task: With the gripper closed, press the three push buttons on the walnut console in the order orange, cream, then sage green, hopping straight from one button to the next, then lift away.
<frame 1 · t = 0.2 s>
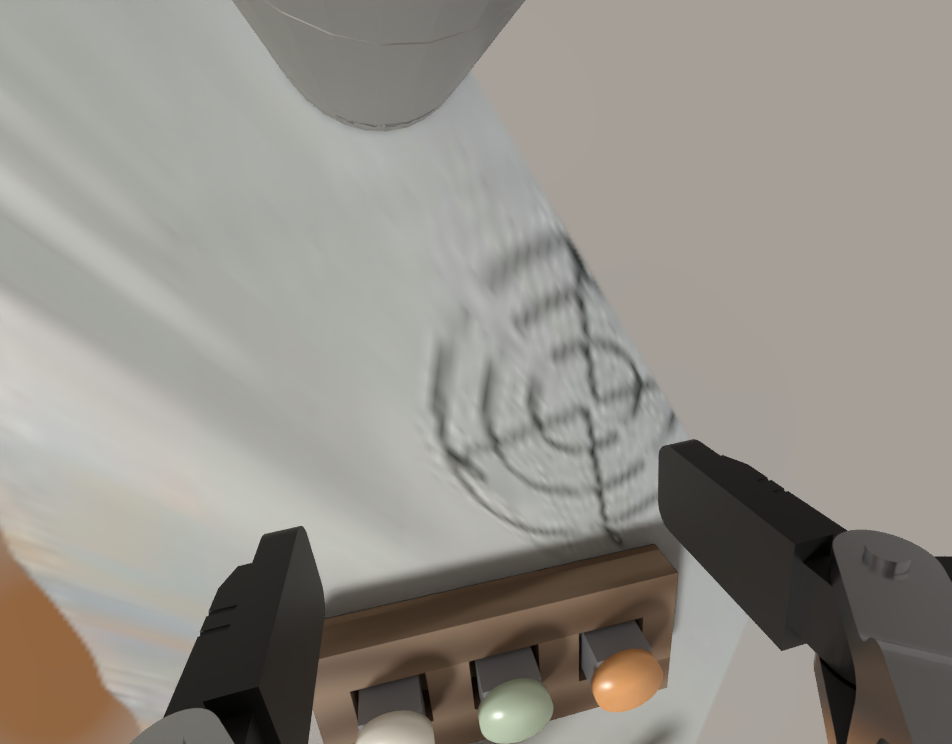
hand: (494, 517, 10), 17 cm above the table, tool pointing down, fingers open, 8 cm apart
console: (496, 640, 36), on the table
button cream: (394, 720, 31), point 4 cm above the table, slide at 0.0 cm
button sage: (509, 689, 33), point 4 cm above the table, slide at 0.0 cm
button orange: (616, 661, 34), point 4 cm above the table, slide at 0.0 cm
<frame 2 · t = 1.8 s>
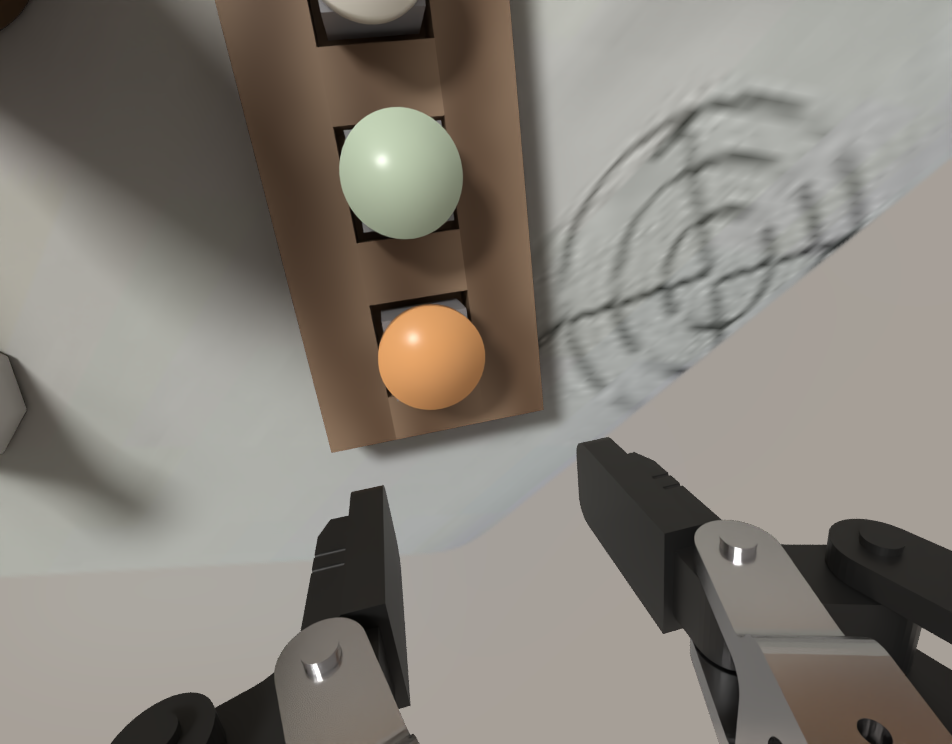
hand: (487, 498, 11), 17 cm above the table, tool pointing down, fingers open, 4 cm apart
console: (397, 185, 25), on the table
button sage: (400, 179, 21), point 4 cm above the table, slide at 0.0 cm
button orange: (428, 349, 24), point 4 cm above the table, slide at 0.0 cm
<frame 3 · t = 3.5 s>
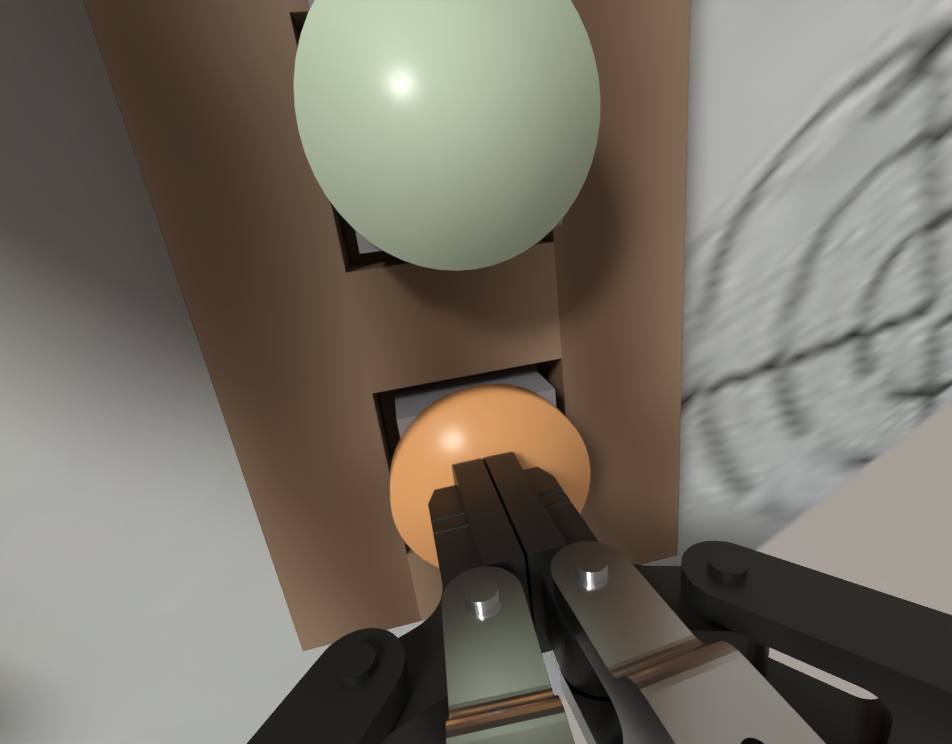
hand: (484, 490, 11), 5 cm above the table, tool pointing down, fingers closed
console: (424, 156, 13), on the table
button sage: (442, 133, 9), point 4 cm above the table, slide at 0.0 cm
button orange: (478, 454, 13), point 3 cm above the table, slide at 1.2 cm, touching gripper
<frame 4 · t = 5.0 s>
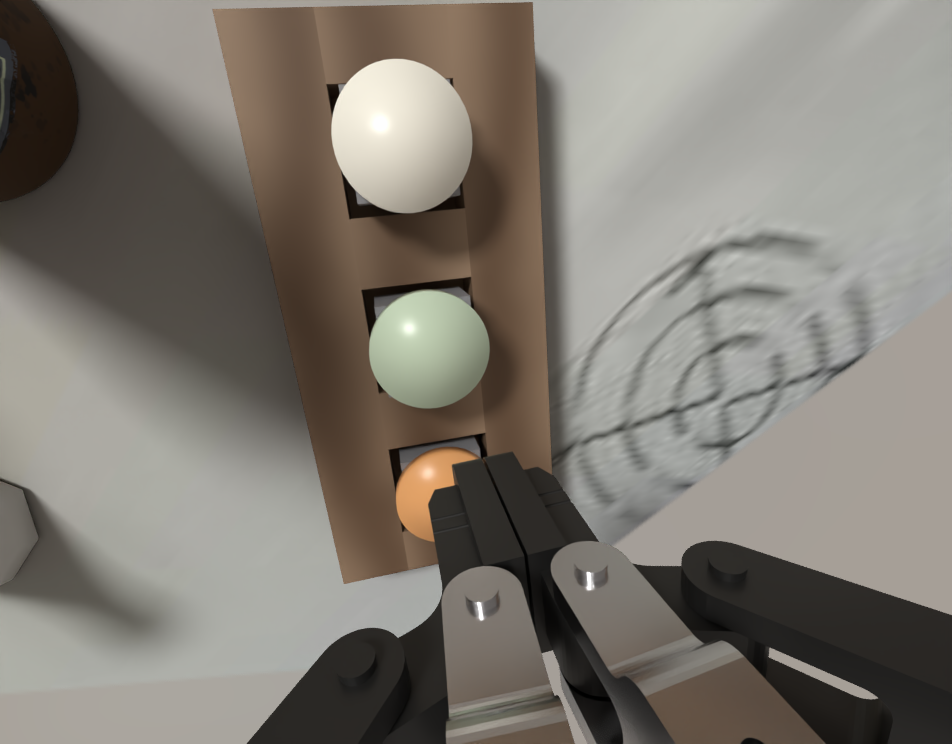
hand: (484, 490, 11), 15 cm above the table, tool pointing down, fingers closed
console: (418, 323, 25), on the table
button cream: (401, 147, 19), point 4 cm above the table, slide at 0.0 cm
button sage: (426, 341, 21), point 4 cm above the table, slide at 0.0 cm
button orange: (442, 479, 25), point 3 cm above the table, slide at 1.3 cm
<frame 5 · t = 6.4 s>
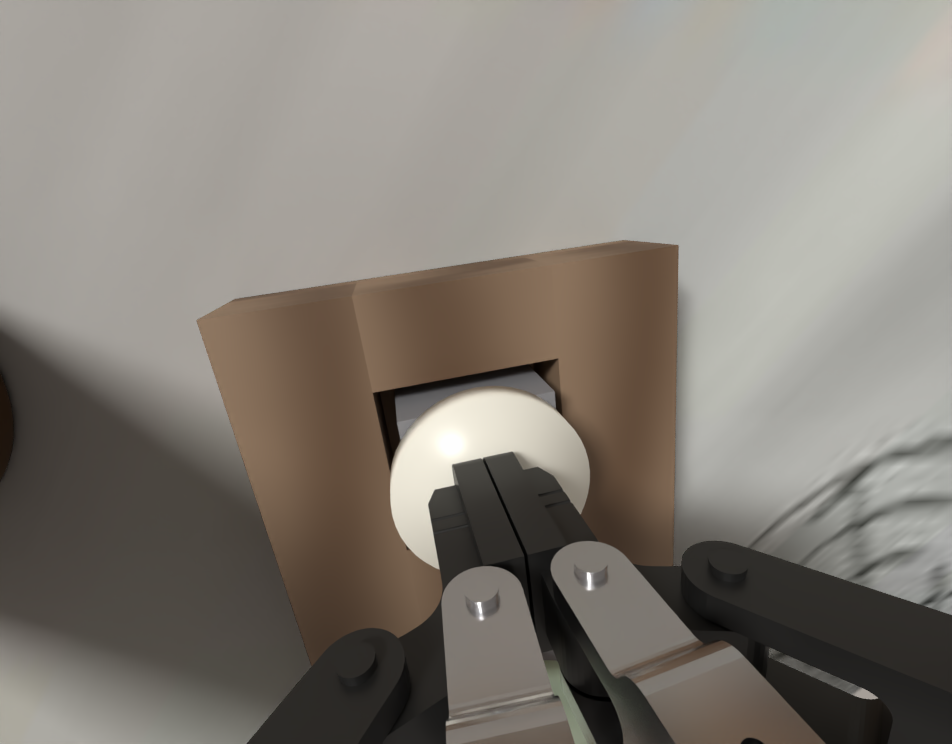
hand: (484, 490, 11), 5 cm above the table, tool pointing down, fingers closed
console: (489, 598, 19), on the table
button cream: (478, 456, 13), point 3 cm above the table, slide at 1.0 cm, touching gripper
button sage: (516, 690, 15), point 4 cm above the table, slide at 0.0 cm
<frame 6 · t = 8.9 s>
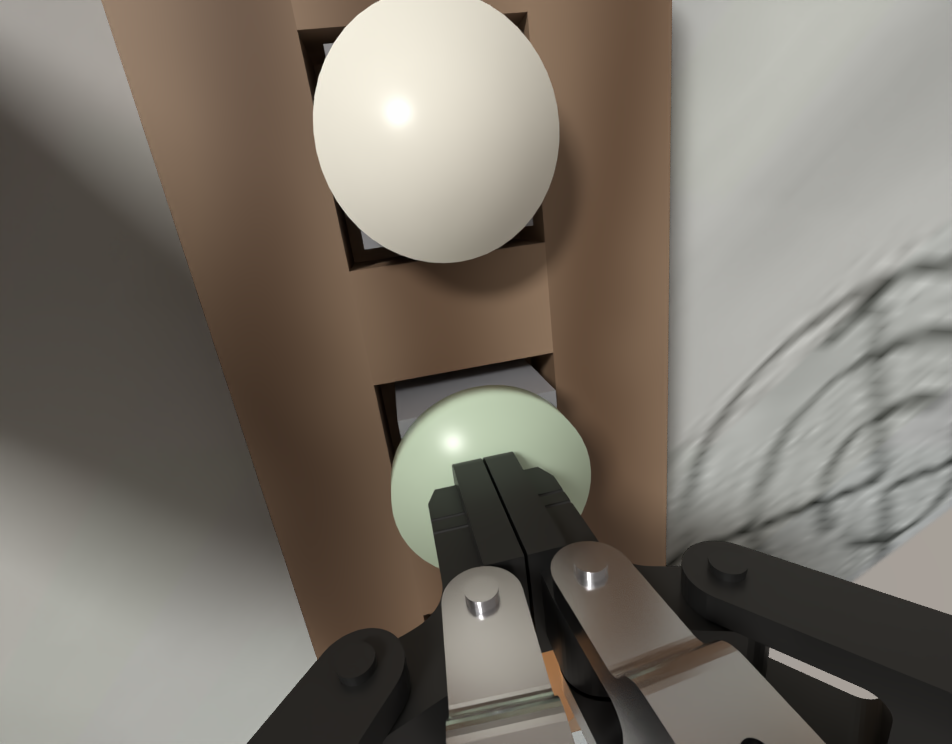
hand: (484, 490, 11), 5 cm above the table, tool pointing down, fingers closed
console: (461, 409, 16), on the table
button cream: (432, 149, 11), point 3 cm above the table, slide at 1.3 cm
button sage: (479, 455, 13), point 3 cm above the table, slide at 0.6 cm, touching gripper
button orange: (503, 642, 17), point 3 cm above the table, slide at 1.3 cm
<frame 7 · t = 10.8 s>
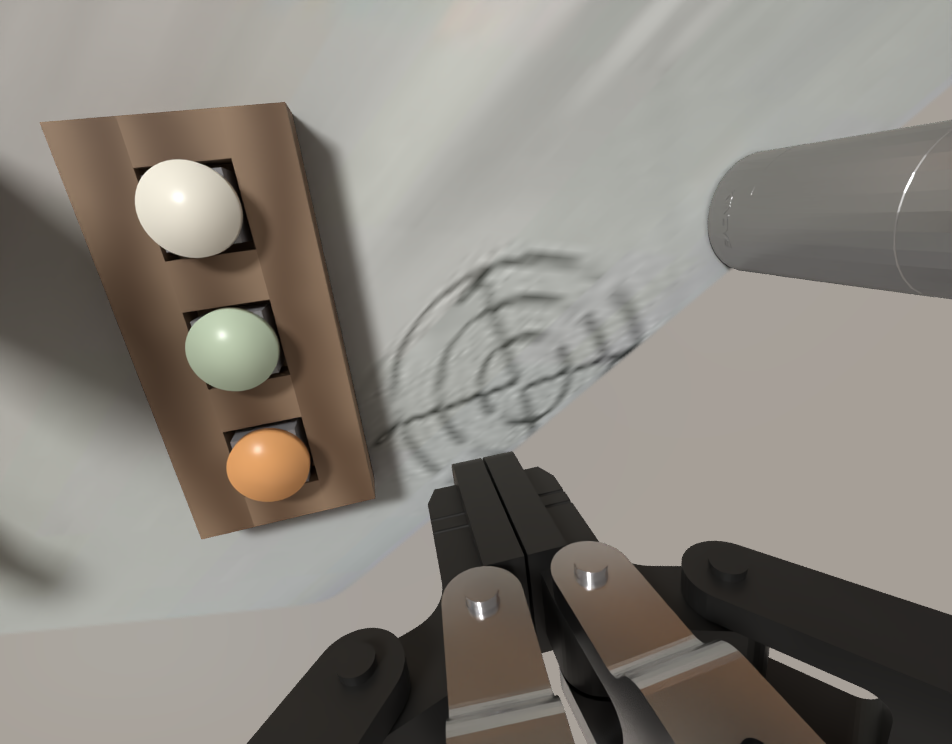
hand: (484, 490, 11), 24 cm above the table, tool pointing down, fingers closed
console: (249, 334, 32), on the table
button cream: (199, 210, 27), point 3 cm above the table, slide at 1.3 cm
button sage: (240, 343, 30), point 3 cm above the table, slide at 1.3 cm
button orange: (273, 454, 32), point 3 cm above the table, slide at 1.3 cm
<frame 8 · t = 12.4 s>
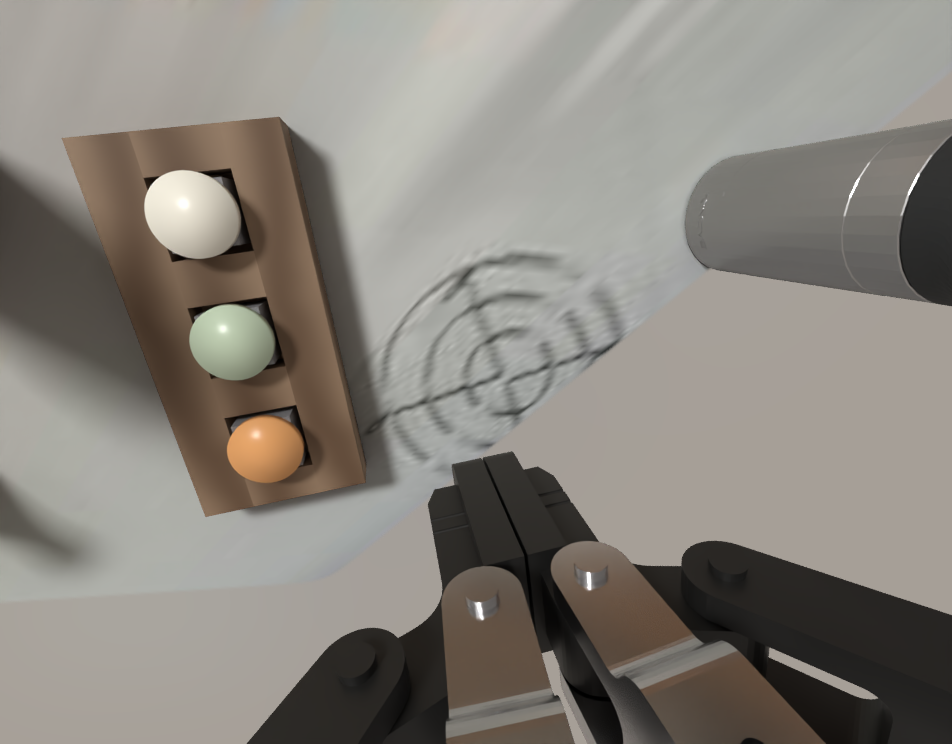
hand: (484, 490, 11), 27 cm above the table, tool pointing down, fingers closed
console: (249, 328, 35), on the table
button cream: (202, 215, 30), point 3 cm above the table, slide at 1.3 cm
button sage: (239, 337, 32), point 3 cm above the table, slide at 1.3 cm
button orange: (271, 439, 35), point 3 cm above the table, slide at 1.3 cm
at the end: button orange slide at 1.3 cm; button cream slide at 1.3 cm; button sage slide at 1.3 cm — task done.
